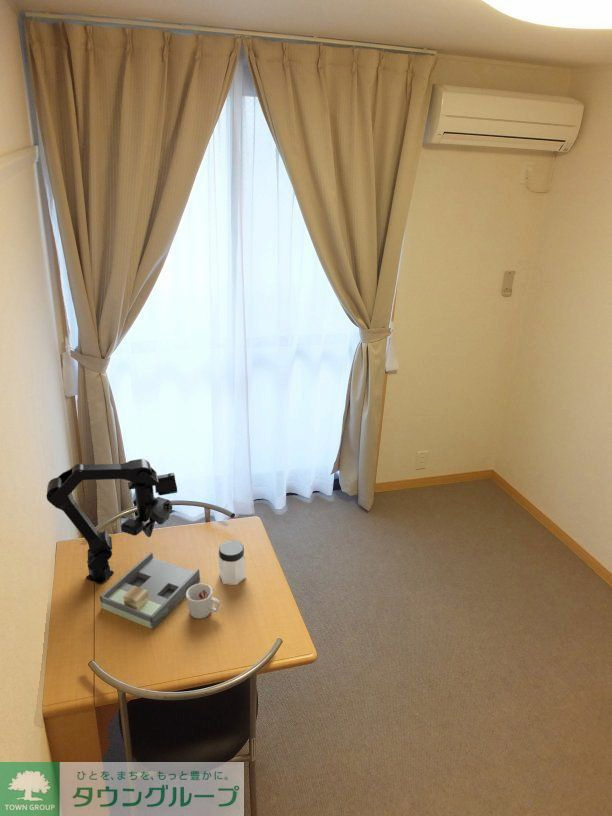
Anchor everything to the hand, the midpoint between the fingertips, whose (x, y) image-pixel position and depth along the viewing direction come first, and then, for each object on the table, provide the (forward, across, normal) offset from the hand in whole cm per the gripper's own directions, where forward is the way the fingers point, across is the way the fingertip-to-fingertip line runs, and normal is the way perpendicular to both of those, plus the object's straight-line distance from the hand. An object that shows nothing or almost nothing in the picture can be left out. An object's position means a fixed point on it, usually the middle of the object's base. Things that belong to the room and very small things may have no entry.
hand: (149, 536), depth 183 cm
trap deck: (+12, -11, -9) cm, 19 cm away
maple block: (+10, -19, -9) cm, 23 cm away
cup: (+12, -11, -29) cm, 33 cm away
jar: (+12, +7, -28) cm, 31 cm away
